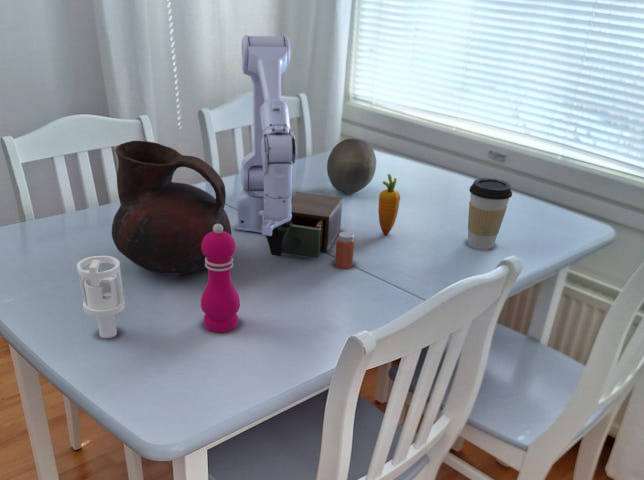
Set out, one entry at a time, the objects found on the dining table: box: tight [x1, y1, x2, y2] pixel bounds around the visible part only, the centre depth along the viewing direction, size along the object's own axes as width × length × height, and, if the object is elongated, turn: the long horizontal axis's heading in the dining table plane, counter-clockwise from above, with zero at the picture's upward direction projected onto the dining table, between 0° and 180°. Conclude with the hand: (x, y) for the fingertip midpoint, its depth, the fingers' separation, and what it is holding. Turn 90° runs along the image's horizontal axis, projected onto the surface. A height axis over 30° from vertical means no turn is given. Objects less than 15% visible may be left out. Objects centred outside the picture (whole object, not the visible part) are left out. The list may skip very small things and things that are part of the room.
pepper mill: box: [200, 224, 241, 333], centre depth 120 cm, size 7×7×20 cm
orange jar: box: [334, 231, 356, 269], centre depth 148 cm, size 4×4×7 cm
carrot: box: [378, 173, 401, 237], centre depth 161 cm, size 5×5×15 cm
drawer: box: [282, 215, 326, 259], centre depth 154 cm, size 14×10×7 cm
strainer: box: [76, 255, 126, 339], centre depth 117 cm, size 7×7×15 cm
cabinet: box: [291, 191, 343, 253], centre depth 160 cm, size 14×12×9 cm
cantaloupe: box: [326, 138, 377, 195], centre depth 186 cm, size 14×14×15 cm
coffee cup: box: [467, 177, 513, 251], centre depth 159 cm, size 10×10×15 cm
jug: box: [111, 140, 233, 275], centre depth 140 cm, size 25×25×25 cm
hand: (276, 254), depth 145 cm, fingers closed
